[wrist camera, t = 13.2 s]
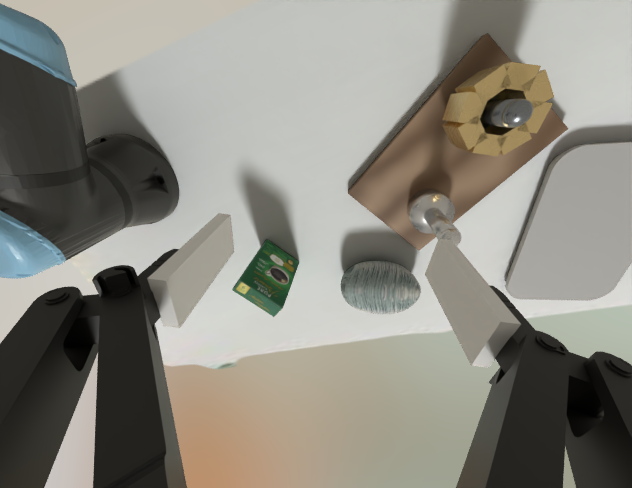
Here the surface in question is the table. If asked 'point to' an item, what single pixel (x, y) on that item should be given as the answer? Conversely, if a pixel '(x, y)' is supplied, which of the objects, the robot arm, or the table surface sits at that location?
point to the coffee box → (268, 278)
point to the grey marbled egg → (380, 287)
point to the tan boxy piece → (506, 85)
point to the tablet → (577, 227)
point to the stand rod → (433, 215)
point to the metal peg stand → (506, 112)
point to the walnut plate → (442, 156)
